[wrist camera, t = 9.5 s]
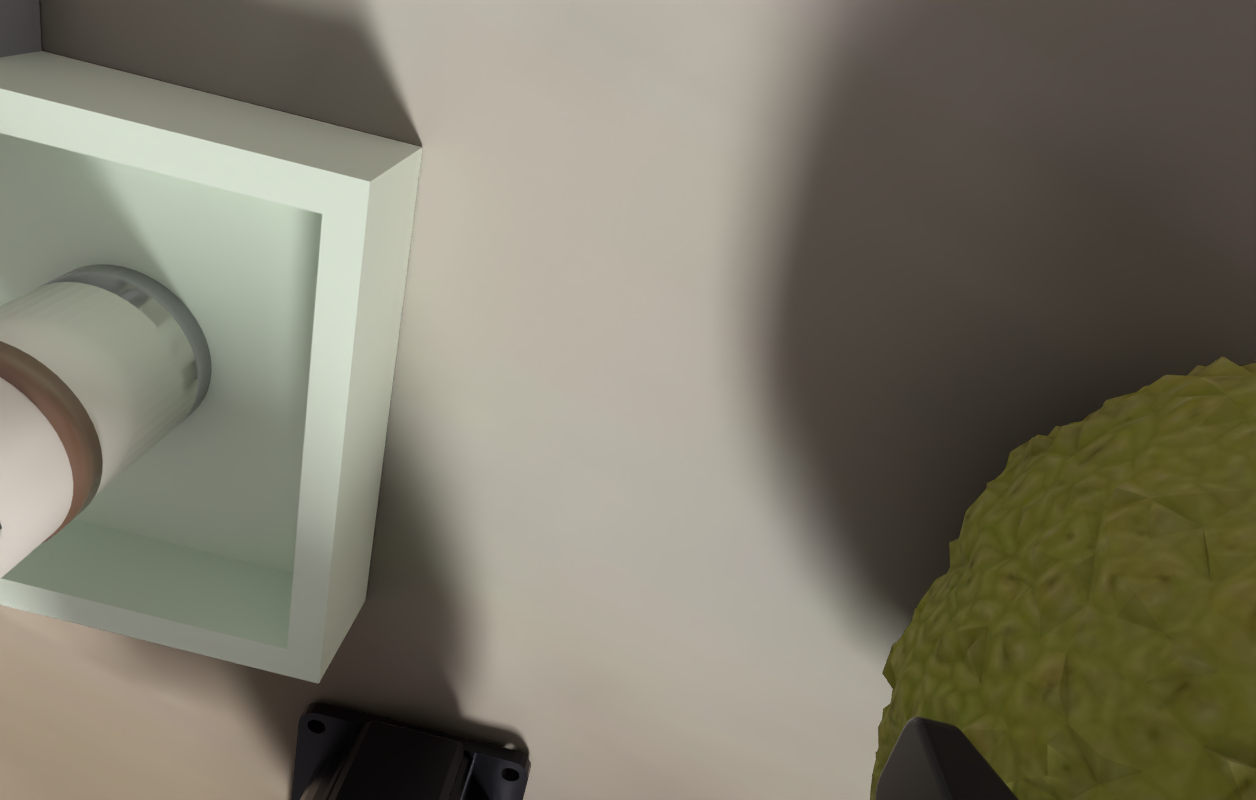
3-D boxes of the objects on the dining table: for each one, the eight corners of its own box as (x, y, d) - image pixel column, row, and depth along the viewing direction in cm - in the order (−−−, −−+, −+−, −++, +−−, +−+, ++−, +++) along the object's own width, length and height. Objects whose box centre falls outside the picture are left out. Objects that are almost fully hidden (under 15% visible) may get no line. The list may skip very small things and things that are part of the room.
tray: (365, 600, 25) (318, 683, 22) (-83, 488, 25) (-187, 558, 22) (422, 146, 19) (370, 181, 17) (-150, 2, 19) (-298, 13, 17)
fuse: (211, 447, 22) (-36, 685, 15) (42, 405, 22) (-285, 622, 15) (216, 287, 21) (-62, 471, 13) (32, 242, 21) (-345, 402, 13)
